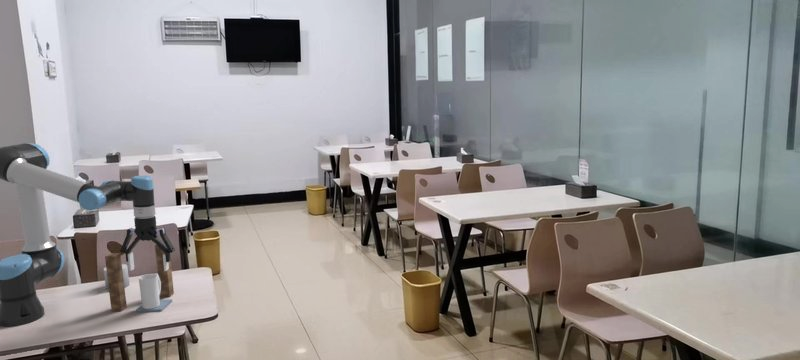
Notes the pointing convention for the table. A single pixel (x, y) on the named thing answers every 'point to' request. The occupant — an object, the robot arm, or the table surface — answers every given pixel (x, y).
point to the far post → (164, 274)
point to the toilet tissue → (125, 276)
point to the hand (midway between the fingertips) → (149, 269)
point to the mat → (160, 308)
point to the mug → (150, 290)
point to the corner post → (115, 281)
